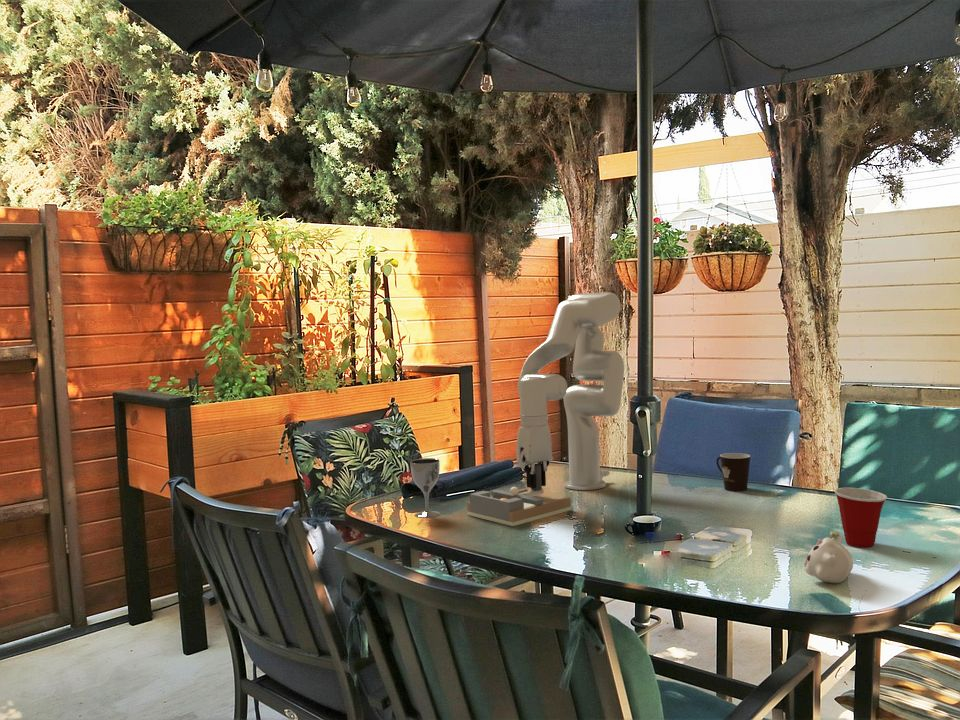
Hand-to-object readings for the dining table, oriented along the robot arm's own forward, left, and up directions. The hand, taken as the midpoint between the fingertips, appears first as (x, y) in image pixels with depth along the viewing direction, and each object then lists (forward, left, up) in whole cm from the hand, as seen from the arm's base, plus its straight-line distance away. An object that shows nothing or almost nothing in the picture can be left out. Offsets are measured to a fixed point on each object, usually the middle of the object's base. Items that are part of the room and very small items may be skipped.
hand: (536, 485), depth 231 cm
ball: (+12, 0, -3) cm, 13 cm away
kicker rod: (+4, 0, -5) cm, 6 cm away
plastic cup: (-23, +80, -6) cm, 84 cm away
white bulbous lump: (+4, +86, -7) cm, 86 cm away
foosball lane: (+7, 0, -6) cm, 9 cm away
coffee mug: (-55, +28, -6) cm, 62 cm away
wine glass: (+25, -18, -6) cm, 31 cm away
